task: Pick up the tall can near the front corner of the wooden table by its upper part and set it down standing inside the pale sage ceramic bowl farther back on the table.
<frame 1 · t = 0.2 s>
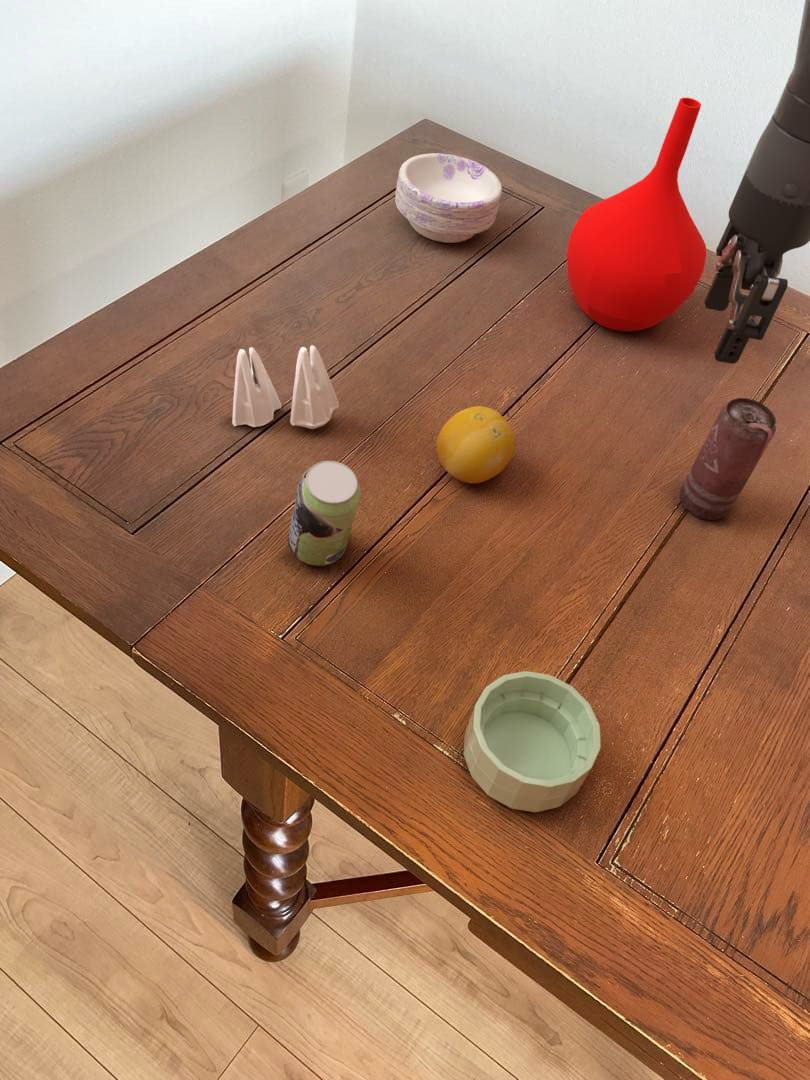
hand: (719, 333, 94), 24 cm above the table, tool pointing down, fingers open, 8 cm apart
shaker set: (285, 421, 113), on the table
paper bowls: (441, 227, 146), on the table
beverage can: (319, 553, 101), on the table
can: (703, 504, 114), on the table
vase: (615, 311, 137), on the table
sage bowl: (523, 756, 88), on the table
fruit: (468, 471, 112), on the table
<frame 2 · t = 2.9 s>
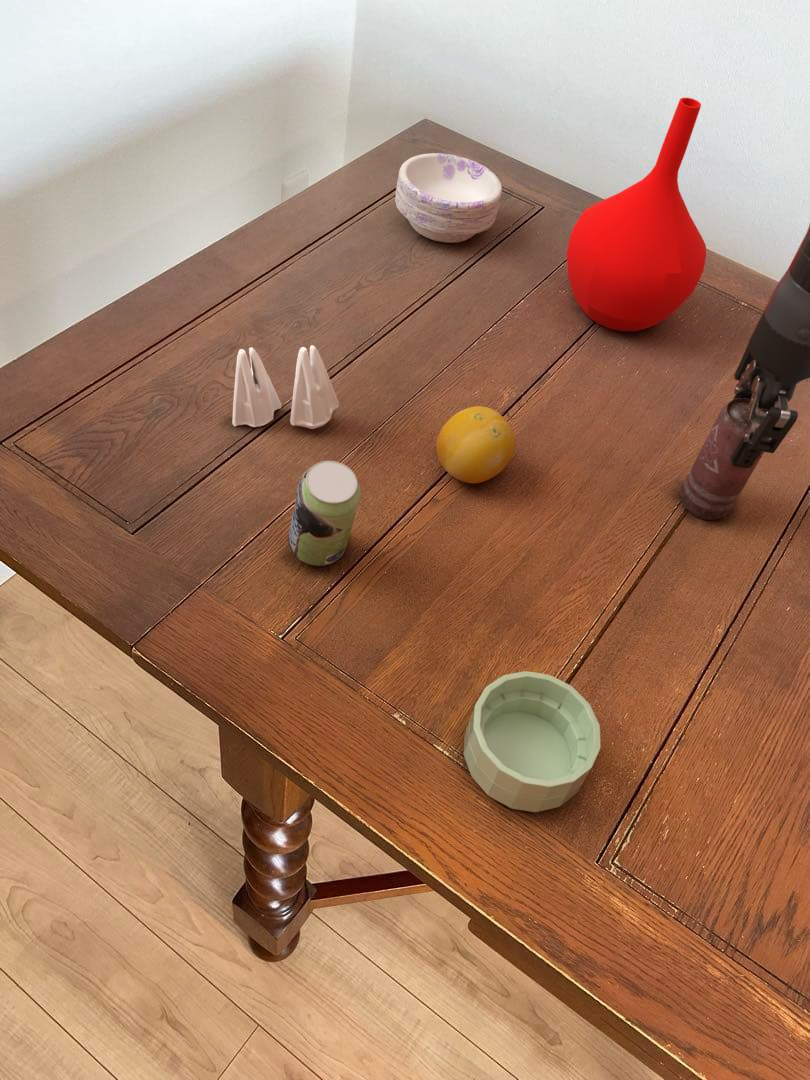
hand: (736, 443, 106), 10 cm above the table, tool pointing down, fingers closed on can, 6 cm apart
can: (703, 504, 114), on the table, touching gripper
everything else where it was.
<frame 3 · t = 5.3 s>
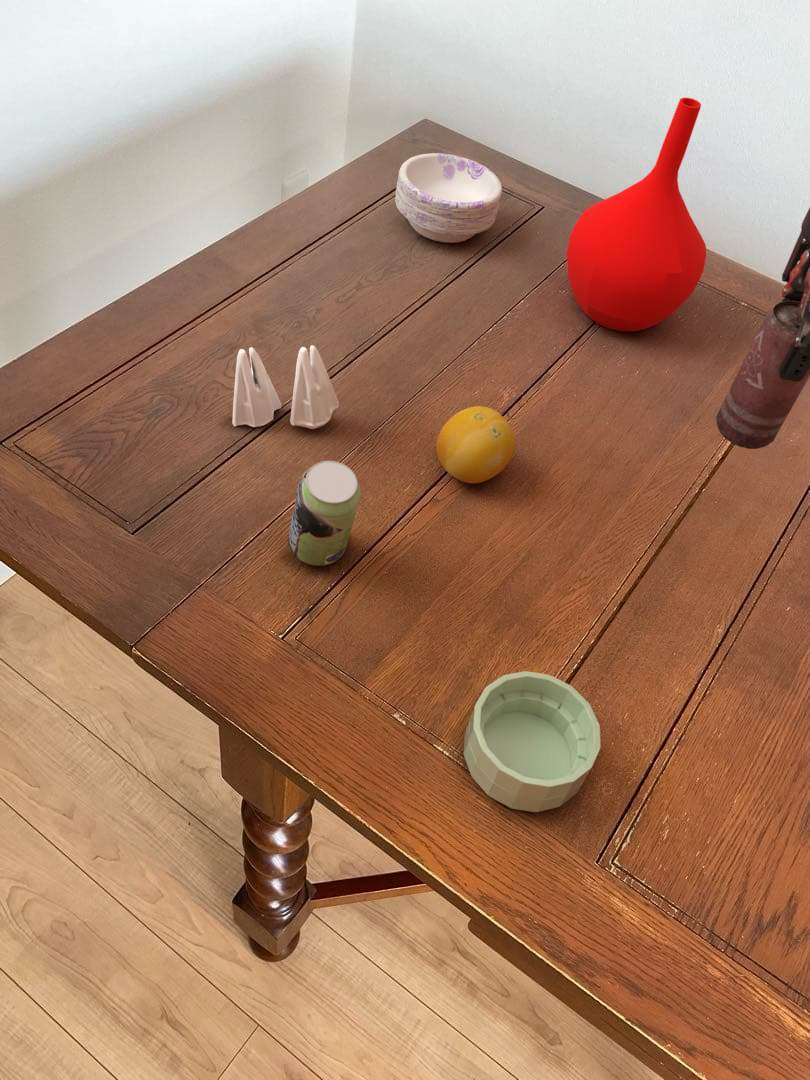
hand: (783, 355, 91), 25 cm above the table, tool pointing down, fingers closed on can, 6 cm apart
can: (743, 432, 99), point 15 cm above the table, touching gripper
everything else where it was.
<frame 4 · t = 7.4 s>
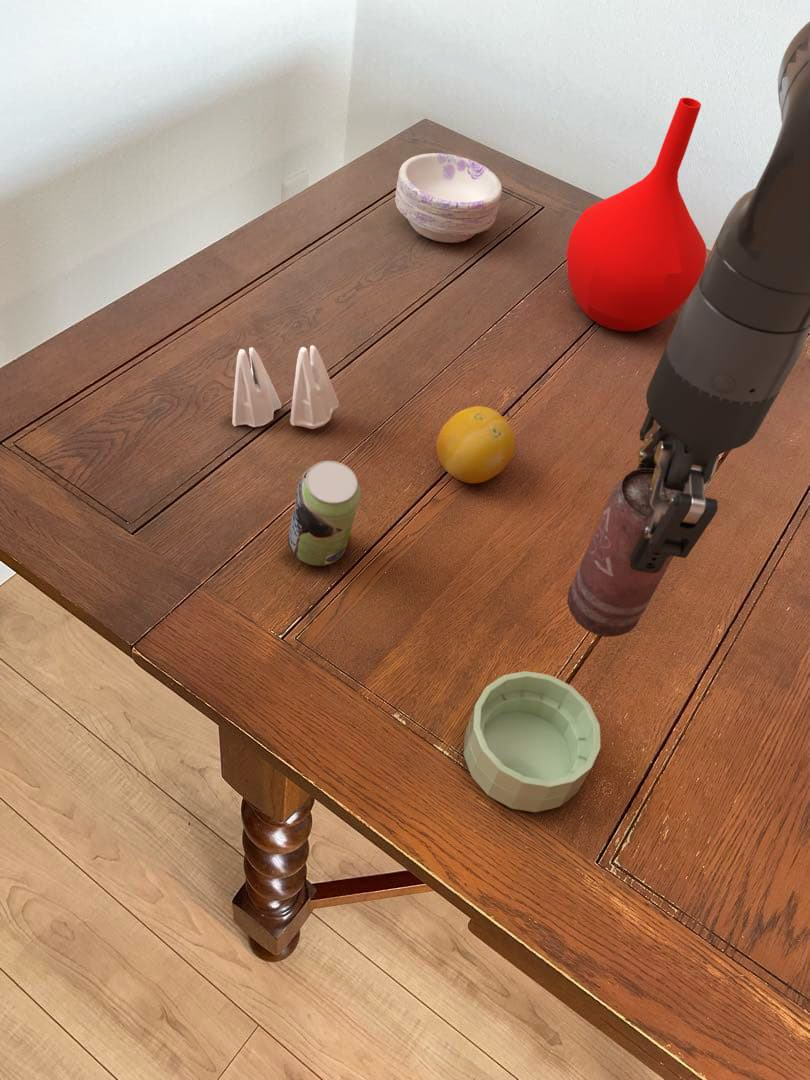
hand: (640, 533, 73), 26 cm above the table, tool pointing down, fingers closed on can, 6 cm apart
can: (602, 612, 80), point 16 cm above the table, touching gripper
everything else where it was.
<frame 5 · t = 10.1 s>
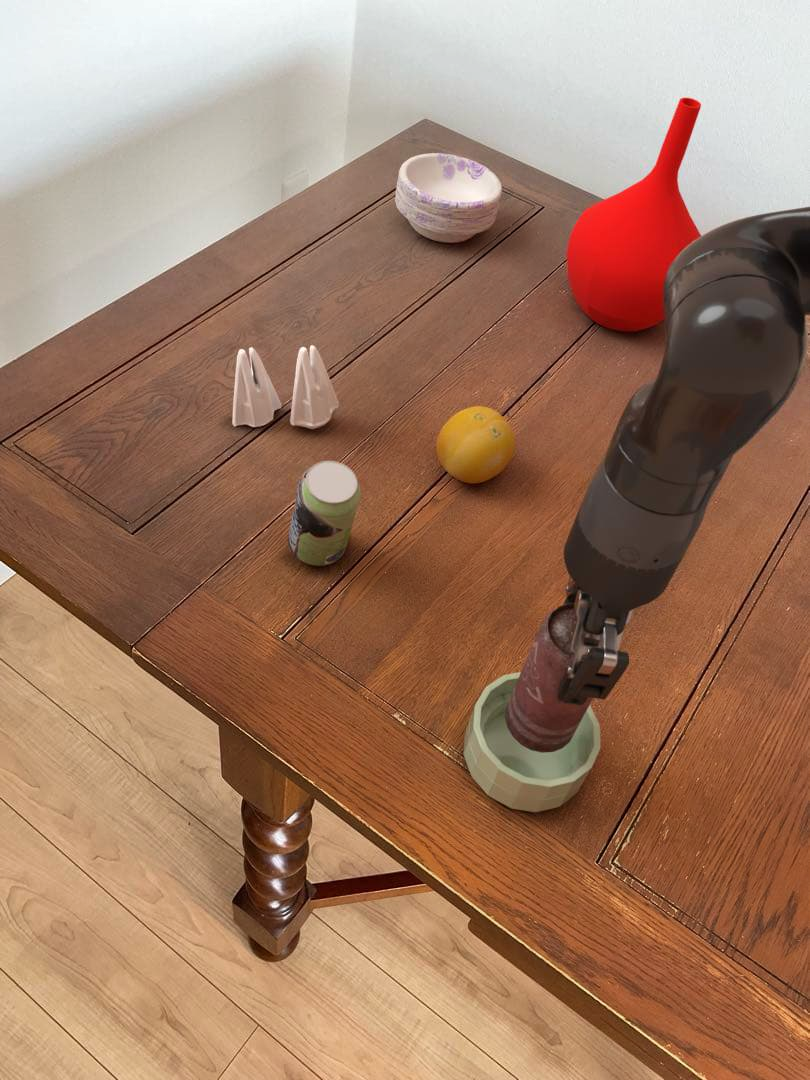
hand: (569, 662, 77), 16 cm above the table, tool pointing down, fingers closed on can, 6 cm apart
can: (538, 726, 84), point 6 cm above the table, touching gripper
everything else where it was.
when the fingers open (10 cm above the table, at t = 12.0 s): can stays where it is, resting on sage bowl.
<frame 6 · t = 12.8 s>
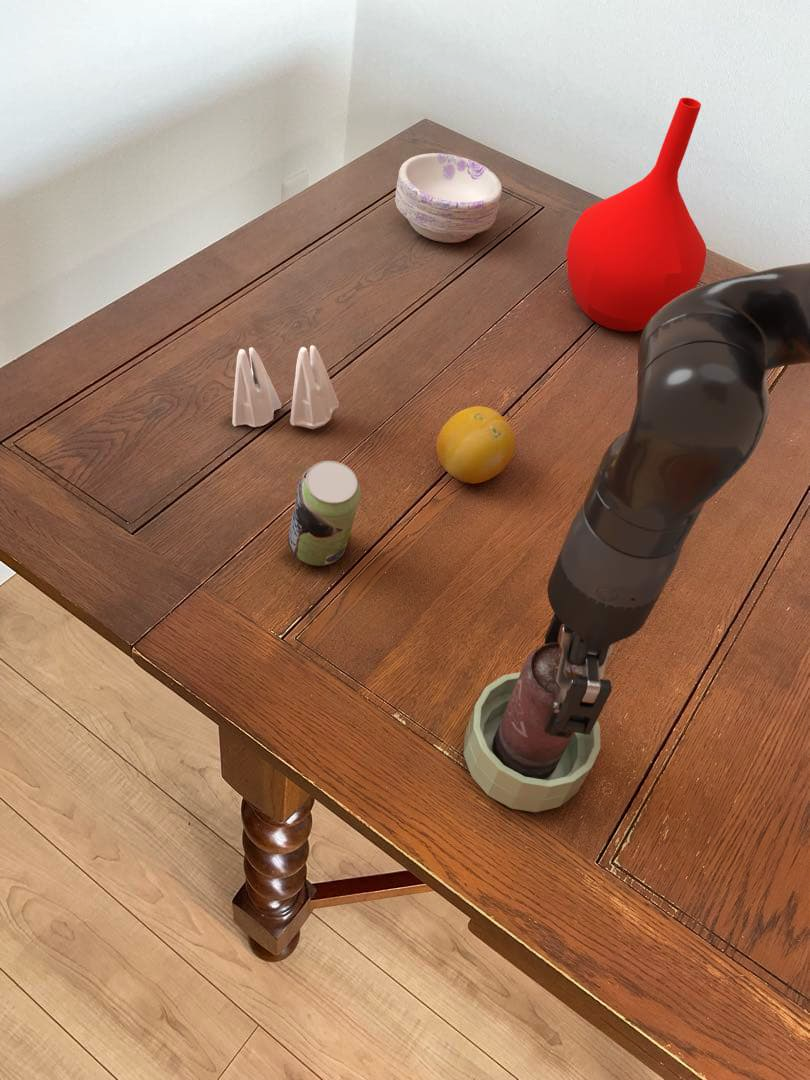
hand: (556, 686, 79), 12 cm above the table, tool pointing down, fingers open, 8 cm apart
can: (524, 756, 88), resting on sage bowl
everything else where it was.
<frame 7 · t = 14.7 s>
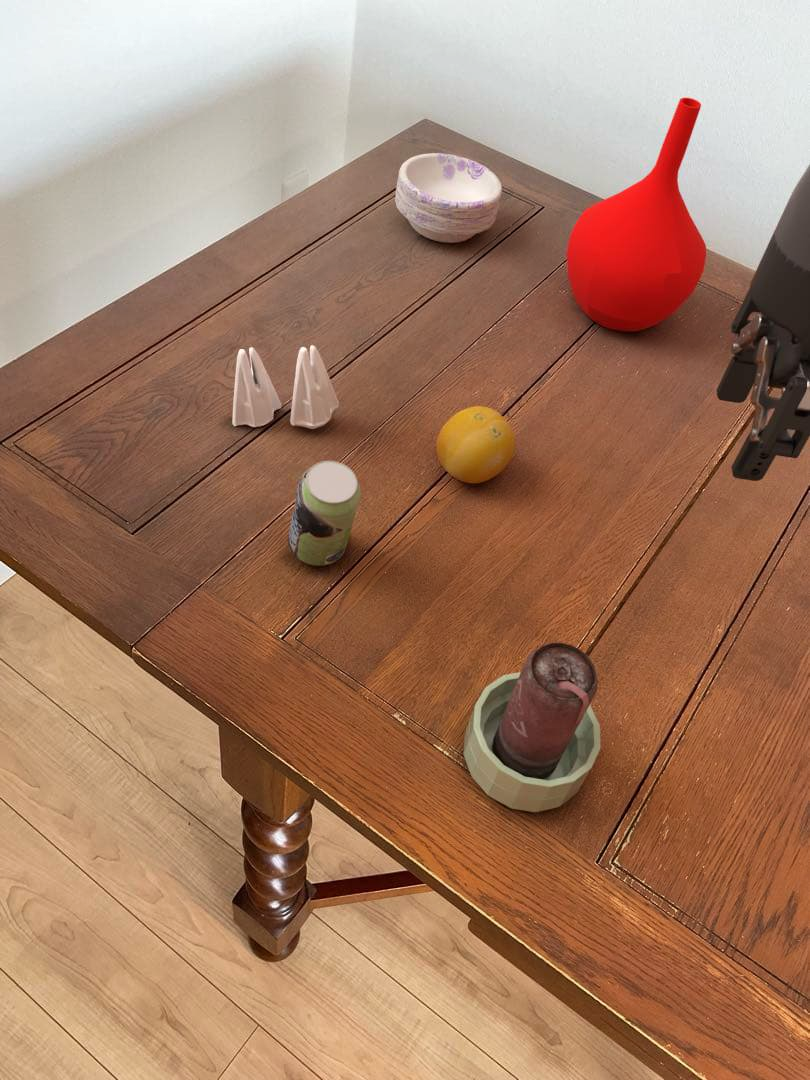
hand: (736, 435, 72), 32 cm above the table, tool pointing down, fingers open, 8 cm apart
nothing on the table moved.
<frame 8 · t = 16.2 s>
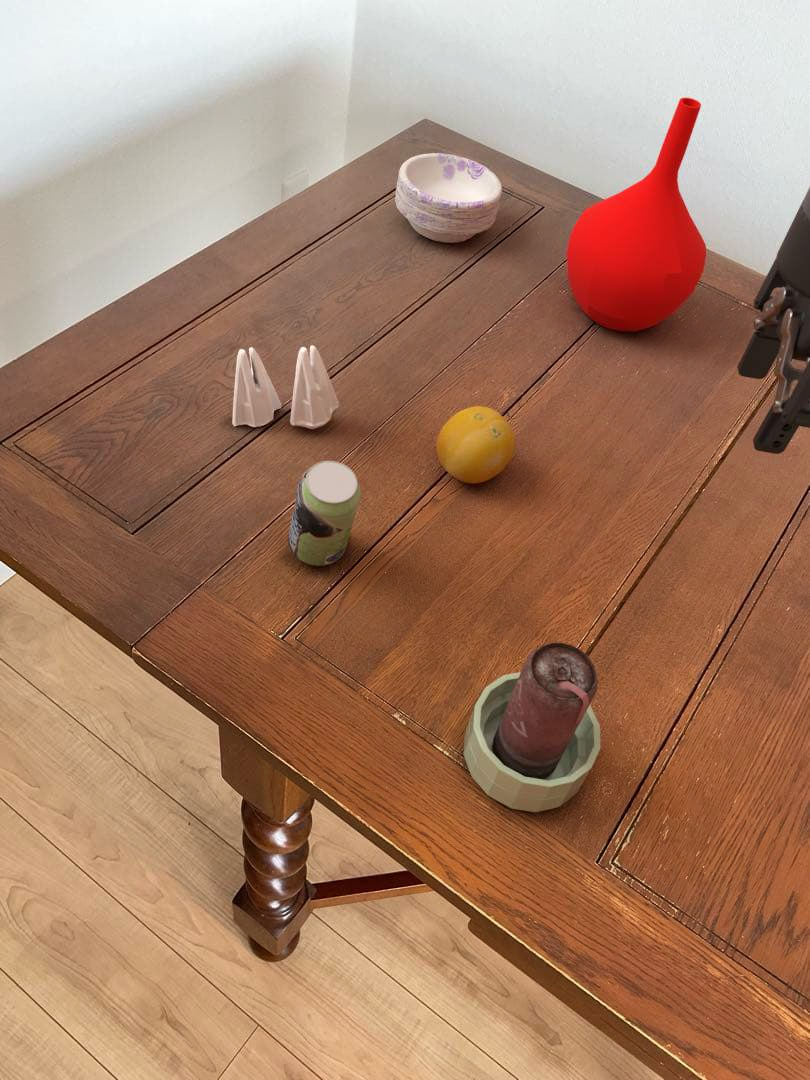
hand: (757, 410, 73), 33 cm above the table, tool pointing down, fingers open, 8 cm apart
nothing on the table moved.
at the end: can 0.2 cm off-centre in the sage bowl, point 0.4 cm above the sage bowl's base; can tilted 0°; the gripper is holding nothing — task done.
